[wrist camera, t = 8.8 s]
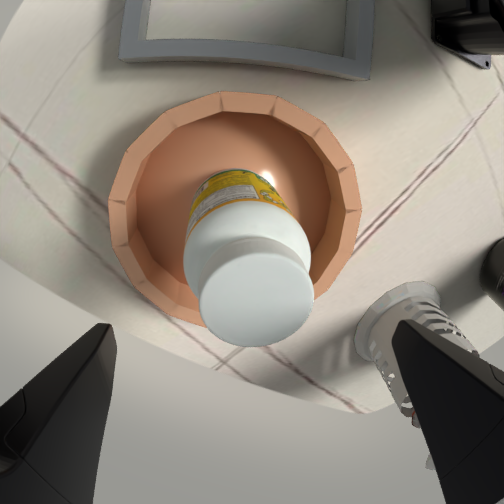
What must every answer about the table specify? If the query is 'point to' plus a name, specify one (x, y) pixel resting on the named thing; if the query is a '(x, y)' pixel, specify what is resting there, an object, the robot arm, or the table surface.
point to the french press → (383, 327)
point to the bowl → (217, 159)
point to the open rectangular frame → (253, 46)
